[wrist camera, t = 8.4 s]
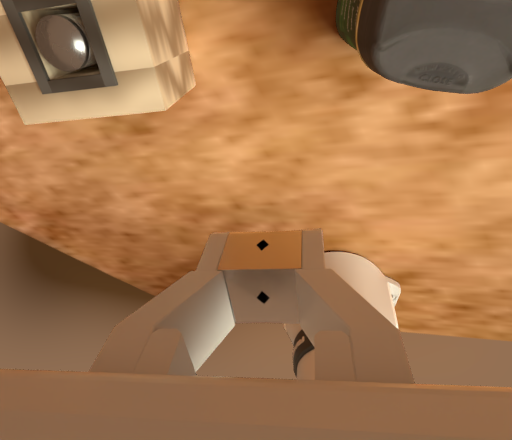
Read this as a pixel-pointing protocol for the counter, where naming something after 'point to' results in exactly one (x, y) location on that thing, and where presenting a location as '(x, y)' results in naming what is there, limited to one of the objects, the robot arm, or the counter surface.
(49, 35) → the peg
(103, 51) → the socket block
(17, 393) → the robot arm
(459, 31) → the coffee jar
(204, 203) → the counter surface
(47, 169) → the counter surface
